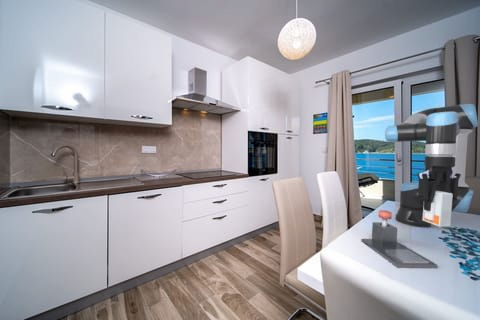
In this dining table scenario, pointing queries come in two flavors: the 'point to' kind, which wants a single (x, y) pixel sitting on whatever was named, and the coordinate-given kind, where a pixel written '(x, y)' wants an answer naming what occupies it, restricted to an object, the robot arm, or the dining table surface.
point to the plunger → (384, 216)
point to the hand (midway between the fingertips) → (436, 218)
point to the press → (394, 248)
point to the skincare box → (441, 209)
